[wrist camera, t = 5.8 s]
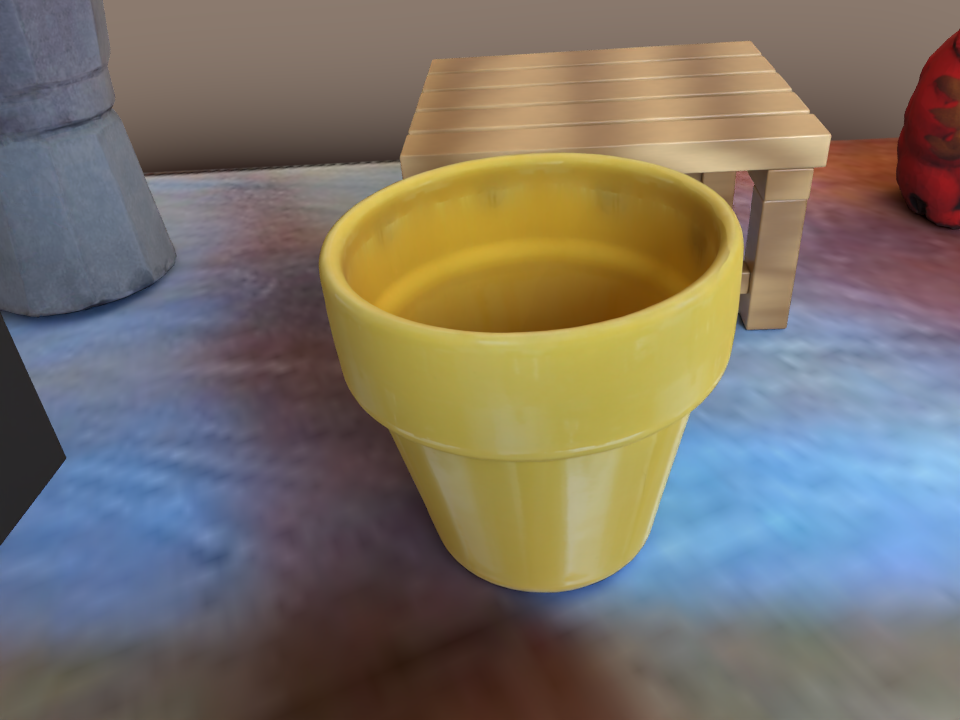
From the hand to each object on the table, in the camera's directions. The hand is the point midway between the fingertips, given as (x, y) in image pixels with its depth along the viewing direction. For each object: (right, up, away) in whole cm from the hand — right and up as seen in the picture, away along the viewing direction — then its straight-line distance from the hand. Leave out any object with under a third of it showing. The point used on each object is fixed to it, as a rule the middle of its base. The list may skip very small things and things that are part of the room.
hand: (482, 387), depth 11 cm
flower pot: (+2, -4, +15) cm, 16 cm away
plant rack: (+5, +5, +28) cm, 29 cm away
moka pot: (-19, +4, +30) cm, 36 cm away
